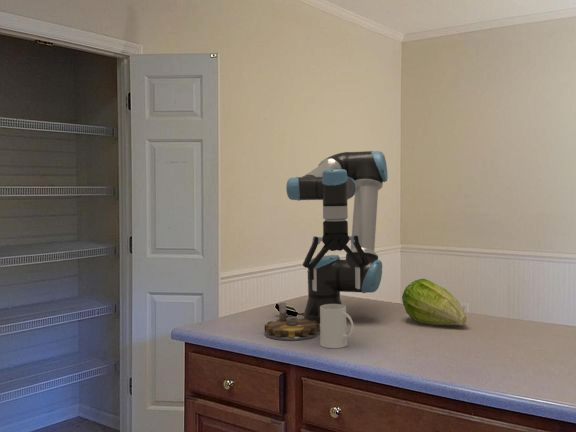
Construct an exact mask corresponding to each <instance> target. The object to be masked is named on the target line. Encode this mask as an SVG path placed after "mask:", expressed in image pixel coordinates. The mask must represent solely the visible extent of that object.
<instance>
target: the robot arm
mask: <svg viewBox="0 0 576 432" xmlns="http://www.w3.org/2000/svg"><path fill="white" fill-rule="evenodd" d="M388 176H389V175H388V167H387V161H386V157H385V154H384V152H382V151H379V150H368V151H367V150H365V151H343V152H339V153H336V154H333V155H330V156H328V157H326V158H324V159H323V160H322V161H320V163H319V164H318V166H317V167H315V168H314V169H312V170H311V171H309V172H308V173H306V174H304V175H303V176H295V177H289V178H288V180H287V182H286V195H287V198H288V199H289V200H291V201H322V219H323V220H324V221H322V229H323V230H322V237H321V236H320V237H319V236H316V235H315V236H313V237H312V242H311V245H310V247H309V250H308V252H307V255H306V256H305V258H304V261H303V262H302V267H304V268H306V269H307V293H308V295H307V297H308V298H307V301H306V304H305V309H304V312H303V319H308V320H309V321H317V324H320V306H322V305H325V304H341V305H343V303H342V300H341V292H344V293H362V294H367V293H375V292H377V291H378V289H379V287H380V285H381V282H382V277H383V262H382V261H381V260H380V259H379V255H378V254H377V253H376V252H375V248H376V247H375V244H376V231H377V230H376V229H377V216H378V215H377V213H378V198H379V197H378V196H379V190H381V189H382V188H383V186H384V185H383V184H384V183H386V182H387V181H388V179H389V177H388ZM353 197H354V199H353V201H354V202H353V212H352V213H353V214H352V227H351V235H349V222H348V220H347V219H348V218H349V215H348V213H349V211H348V200H350V199H351V198H353ZM321 242H322V243H323V246H322V248H321V250H320V251H319V252H318V253H317V254H316V256H315V257H313V256H314V254H315V252H316V251H317V248H318V247H319V246H318V245H320V243H321ZM349 242H350V247H349V246H348V245H347V244H348V243H349ZM342 250H344V252H345V253H346V254H345V259H343V258H341V257H340V255H338V254H330V255H326V254H327V253H328V252H329V251H331V252H336V251H339V252H340V251H342Z"/></svg>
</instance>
